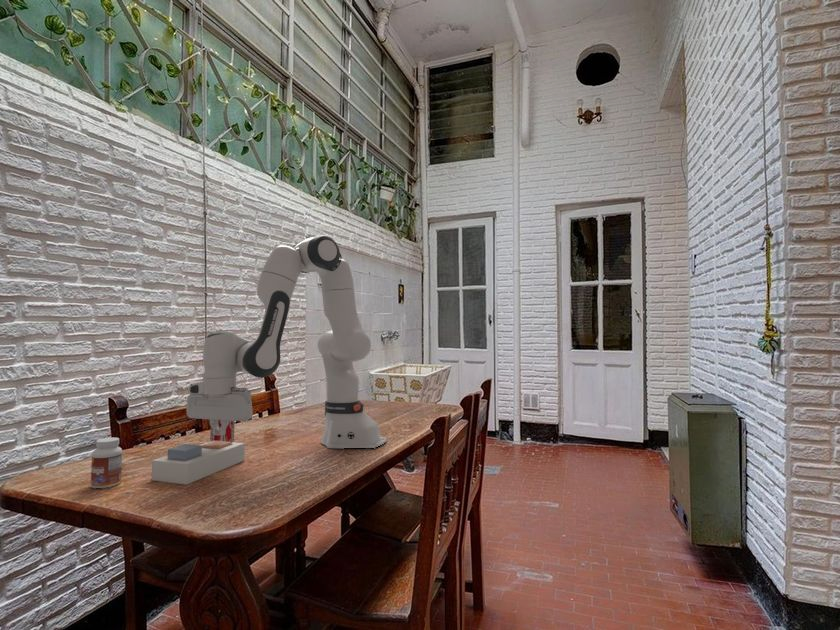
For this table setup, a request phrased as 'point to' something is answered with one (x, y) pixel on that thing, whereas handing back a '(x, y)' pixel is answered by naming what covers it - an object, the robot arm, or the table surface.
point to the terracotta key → (217, 444)
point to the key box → (197, 464)
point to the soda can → (228, 436)
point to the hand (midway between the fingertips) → (219, 434)
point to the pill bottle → (106, 463)
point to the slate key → (184, 452)
